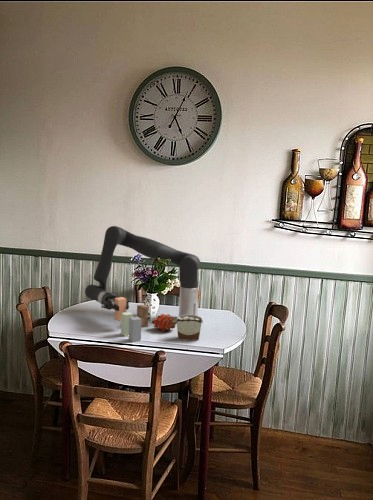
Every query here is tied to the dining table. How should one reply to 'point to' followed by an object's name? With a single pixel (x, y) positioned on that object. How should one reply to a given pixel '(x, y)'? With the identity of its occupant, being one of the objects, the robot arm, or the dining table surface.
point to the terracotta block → (120, 307)
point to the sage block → (125, 323)
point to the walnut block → (143, 315)
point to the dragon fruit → (164, 322)
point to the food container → (188, 326)
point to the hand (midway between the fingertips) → (123, 308)
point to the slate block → (134, 329)
